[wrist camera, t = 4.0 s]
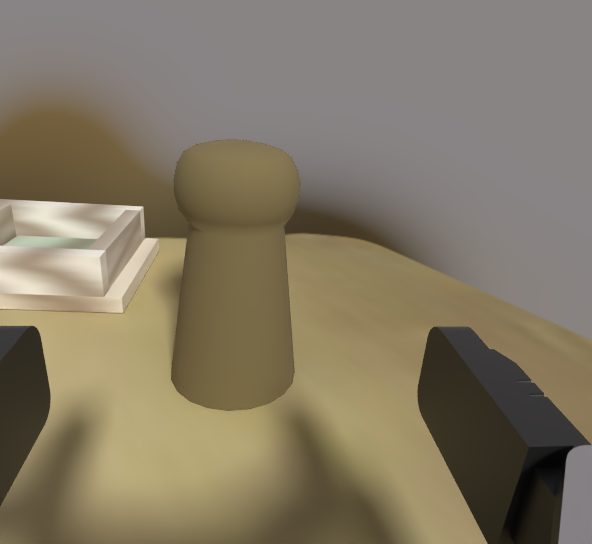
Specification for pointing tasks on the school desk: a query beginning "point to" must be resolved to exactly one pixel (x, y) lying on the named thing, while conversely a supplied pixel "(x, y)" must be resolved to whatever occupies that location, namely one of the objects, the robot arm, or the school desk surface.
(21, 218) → the white divided tray
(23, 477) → the school desk surface
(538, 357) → the school desk surface
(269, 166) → the cork
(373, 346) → the school desk surface
